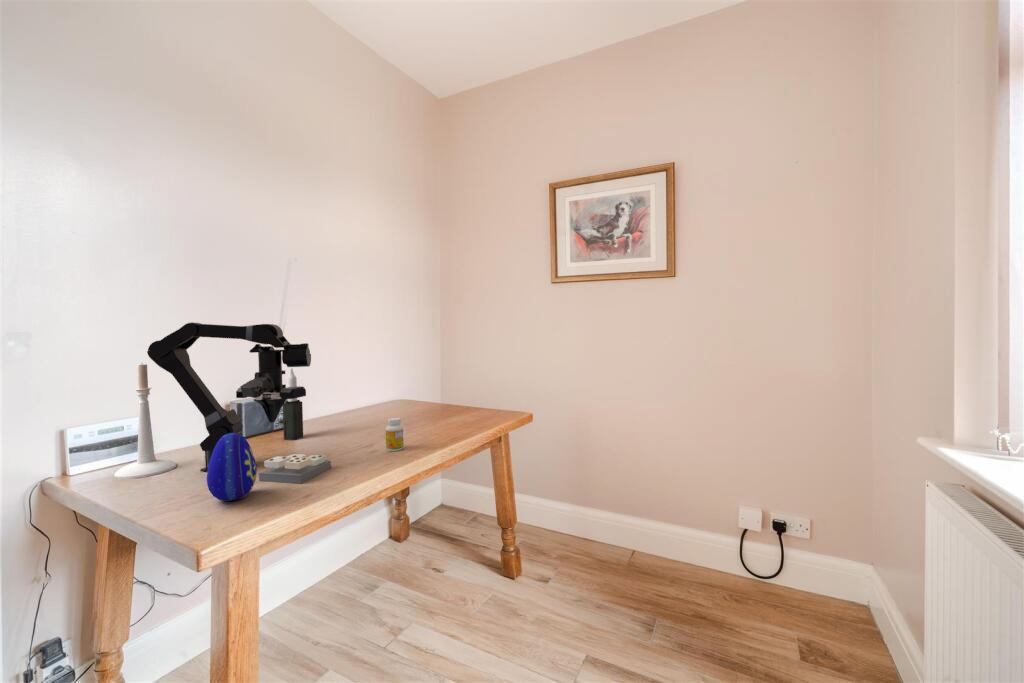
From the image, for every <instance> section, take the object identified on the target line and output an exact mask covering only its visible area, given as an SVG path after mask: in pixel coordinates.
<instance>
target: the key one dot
mask: <svg viewBox="0 0 1024 683" xmlns="http://www.w3.org/2000/svg"><path fill="white" fill-rule="evenodd" d="M286 457H291V459H294V458H296V457H299V458H307V457H308V456H307V454H303V453H301V454H299V453H293V454H290V455H287V456H286Z"/></svg>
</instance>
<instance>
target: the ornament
mask: <svg viewBox="0 0 1024 683" xmlns="http://www.w3.org/2000/svg"><path fill="white" fill-rule="evenodd" d="M257 472H258V465H257V461H256V458H255V455H254V452H253V449H252V447H251V445H250V443H249V442H248V440H247V439H246V437H244V436H243V435H241V433H240V434H237V433H229V434H226V435H224V436H223V437H221V438H220V440H219V441H218V442H217V444H216V446H215V448H214V450H213V453H212V456H211V459H210V462H209V466H208V471H206V484H207V485H206V486H207V488H208V491H209V493H210V494H211V495H212V497H214V498H215V499H217V500H219V501H222V502H225V501H226V502H231V501H236V500H239V499H243V498H244V497H246V496H247V495H248V494H249V493H250V492H251V491H252V489H253V488H254V484H255V483H256V480H257V478H256V477H257Z"/></svg>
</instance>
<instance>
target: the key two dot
mask: <svg viewBox="0 0 1024 683" xmlns="http://www.w3.org/2000/svg"><path fill="white" fill-rule="evenodd" d="M289 460H291V457H287V456H277V455H276V456H273V457H271V458H269V459H266V460H264V462H263V463H264V465H263V466H264V468H280V467H282V466H284V465H285V462H287V461H289Z"/></svg>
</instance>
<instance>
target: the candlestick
mask: <svg viewBox="0 0 1024 683" xmlns="http://www.w3.org/2000/svg"><path fill="white" fill-rule="evenodd" d="M148 379H149V378H148V364H147V363H145V364H143V363H141V364H137V387H138V388H135V389H134V390H135V391H136V392H137V393H136V395H137V396H138V398H139V402H138V428H137V430H138V431H137V433H138V434H137V436H138V437H137V456H136V457H137V459H136V461H135V462H132V463H130V464H128V465H125V466H123V467H121V468H119V469H118V470H116V471H115V473H114V478H115V479H118V480H132V479H141V478H142V479H143V478H147V477H153V476H156V475H160V474H163V473H167V472H169V471H171V470H173V469H175V468H176V467H177V462H176V461H174V460H172V459H167V458H156V456H155V448H154V439H153V431H152V421H151V412H150V411H151V410H150V401H149V400H148V398H149V396H150V394H151V393H150V391H151V389H152V387H149V380H148Z"/></svg>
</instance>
